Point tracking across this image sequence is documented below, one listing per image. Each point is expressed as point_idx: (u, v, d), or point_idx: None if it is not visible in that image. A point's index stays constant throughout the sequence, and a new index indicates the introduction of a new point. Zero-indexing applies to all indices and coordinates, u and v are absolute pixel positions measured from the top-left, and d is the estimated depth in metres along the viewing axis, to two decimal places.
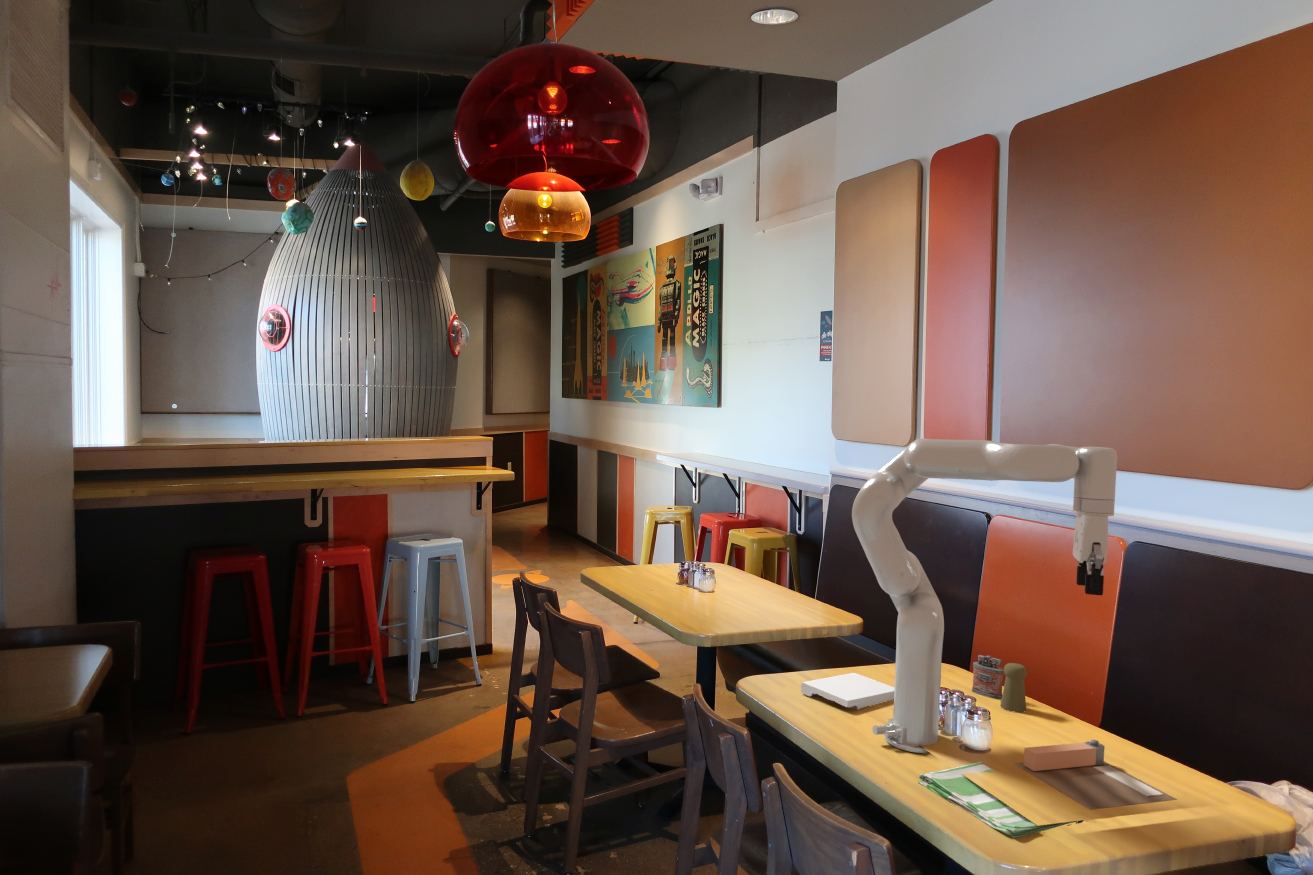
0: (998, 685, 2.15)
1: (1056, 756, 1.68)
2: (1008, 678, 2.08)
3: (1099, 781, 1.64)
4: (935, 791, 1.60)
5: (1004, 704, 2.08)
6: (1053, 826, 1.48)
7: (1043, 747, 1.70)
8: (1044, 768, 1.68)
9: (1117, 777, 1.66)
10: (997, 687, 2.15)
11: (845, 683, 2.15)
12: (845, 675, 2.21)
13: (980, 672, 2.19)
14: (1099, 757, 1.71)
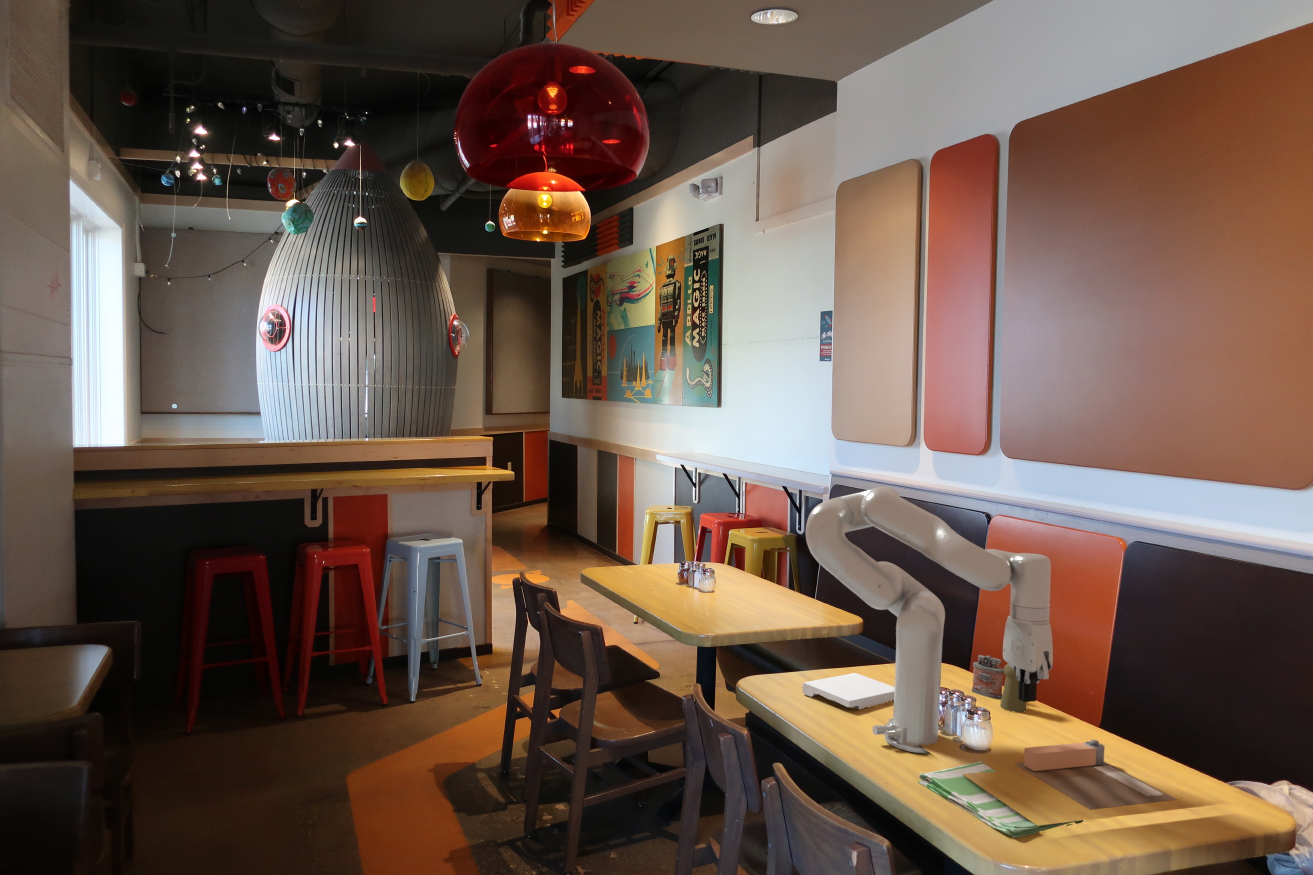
0: (998, 685, 2.15)
1: (1056, 756, 1.68)
2: (1008, 678, 2.08)
3: (1099, 781, 1.64)
4: (935, 791, 1.60)
5: (1004, 704, 2.08)
6: (1053, 826, 1.48)
7: (1043, 747, 1.70)
8: (1044, 768, 1.68)
9: (1117, 777, 1.66)
10: (997, 687, 2.15)
11: (847, 683, 2.15)
12: (846, 675, 2.21)
13: (980, 672, 2.19)
14: (1099, 757, 1.71)
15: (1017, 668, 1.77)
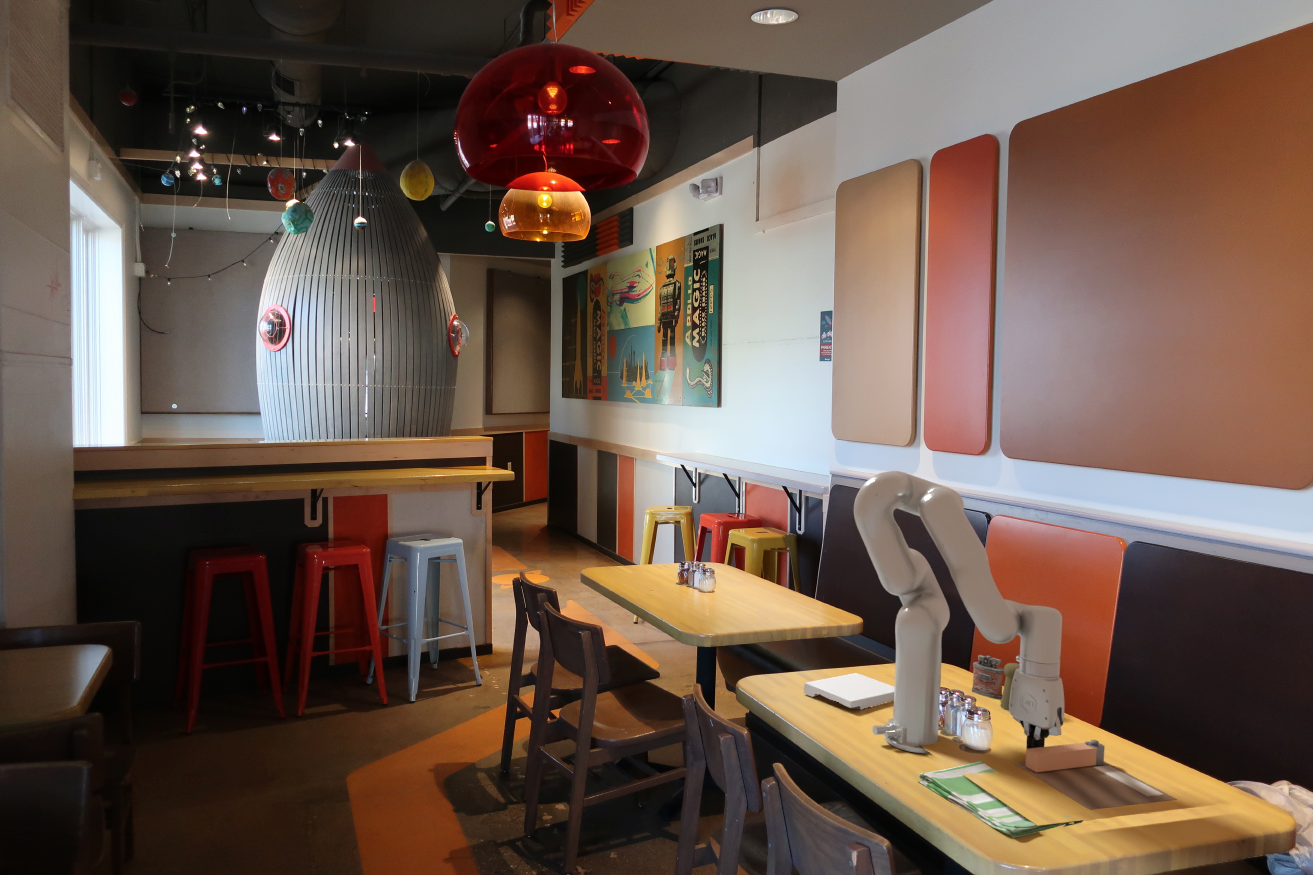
0: (998, 685, 2.15)
1: (1058, 756, 1.68)
2: (1008, 678, 2.08)
3: (1099, 781, 1.64)
4: (935, 790, 1.60)
5: (1004, 704, 2.08)
6: (1053, 826, 1.48)
7: (1044, 748, 1.70)
8: (1046, 769, 1.67)
9: (1117, 777, 1.66)
10: (997, 687, 2.15)
11: (848, 683, 2.15)
12: (847, 676, 2.21)
13: (980, 672, 2.19)
14: (1099, 757, 1.71)
15: (1025, 723, 1.73)
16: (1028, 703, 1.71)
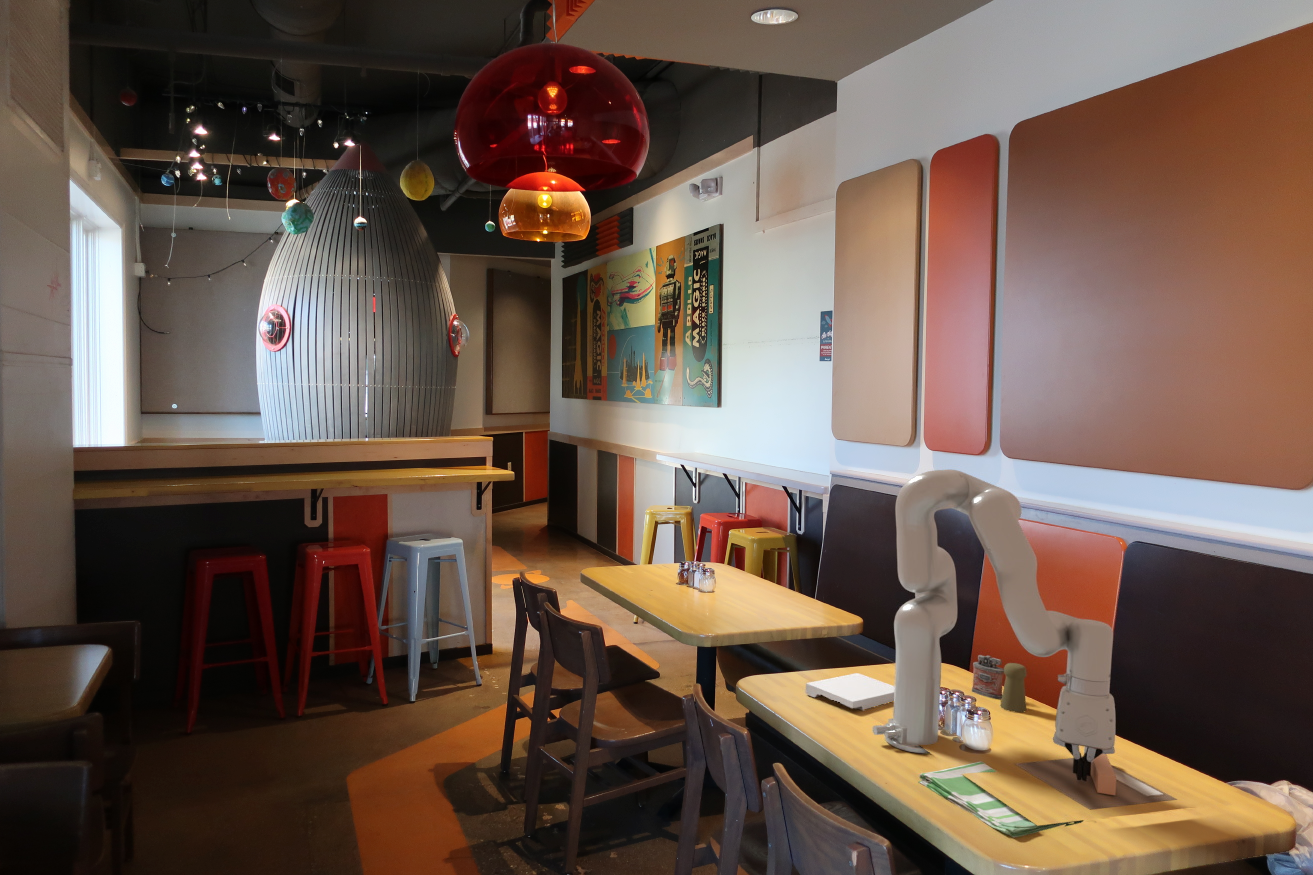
0: (998, 685, 2.15)
1: None
2: (1008, 678, 2.08)
3: None
4: (935, 791, 1.60)
5: (1004, 704, 2.08)
6: (1053, 826, 1.48)
7: (1098, 766, 1.62)
8: None
9: (1117, 777, 1.66)
10: (997, 687, 2.15)
11: (850, 683, 2.14)
12: (849, 676, 2.21)
13: (980, 672, 2.19)
14: None
15: (1075, 746, 1.62)
16: (1086, 725, 1.60)
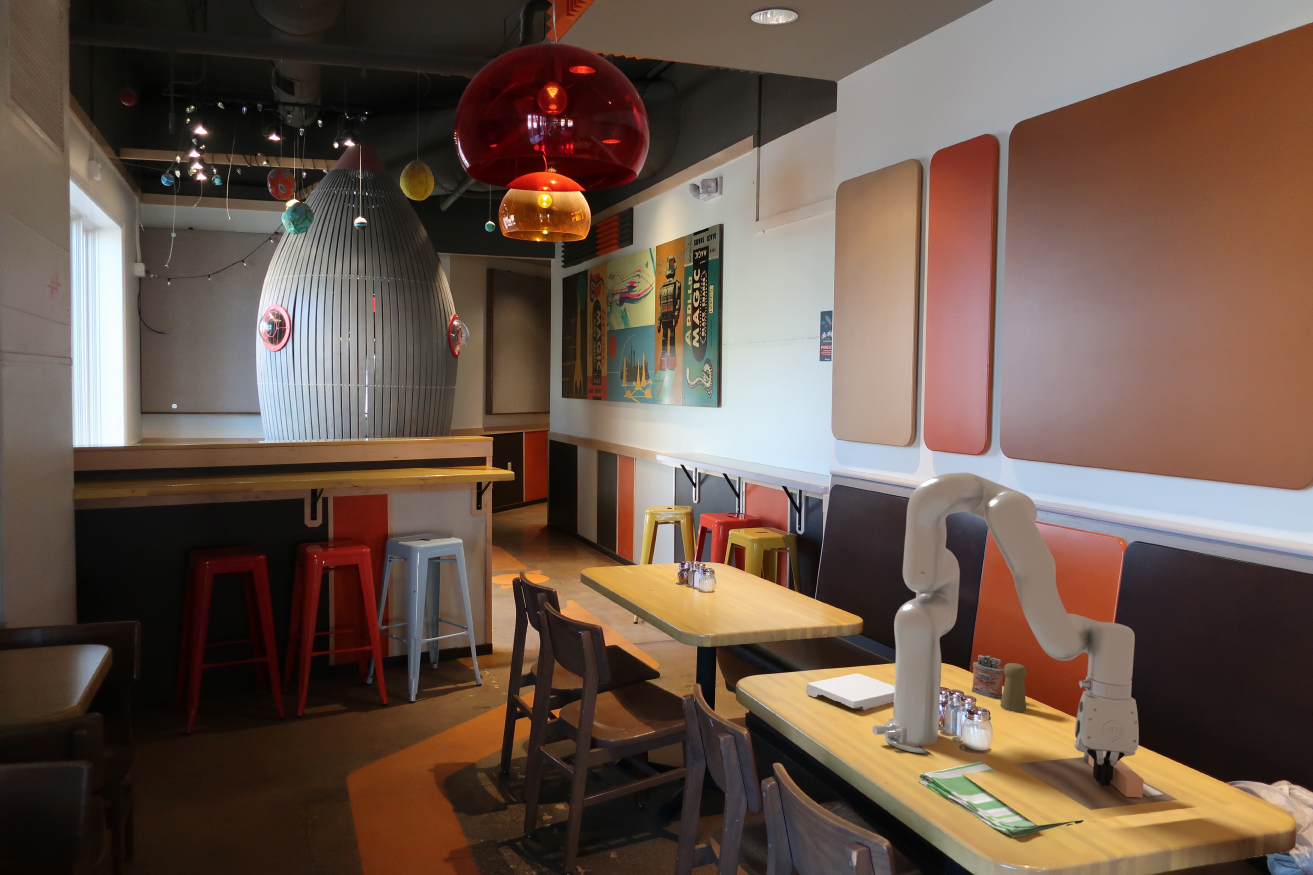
0: (998, 685, 2.15)
1: None
2: (1008, 678, 2.08)
3: None
4: (935, 790, 1.60)
5: (1004, 704, 2.08)
6: (1053, 826, 1.48)
7: (1119, 769, 1.61)
8: None
9: None
10: (997, 687, 2.15)
11: (850, 684, 2.14)
12: (849, 676, 2.21)
13: (980, 672, 2.19)
14: None
15: (1099, 752, 1.60)
16: (1112, 730, 1.58)
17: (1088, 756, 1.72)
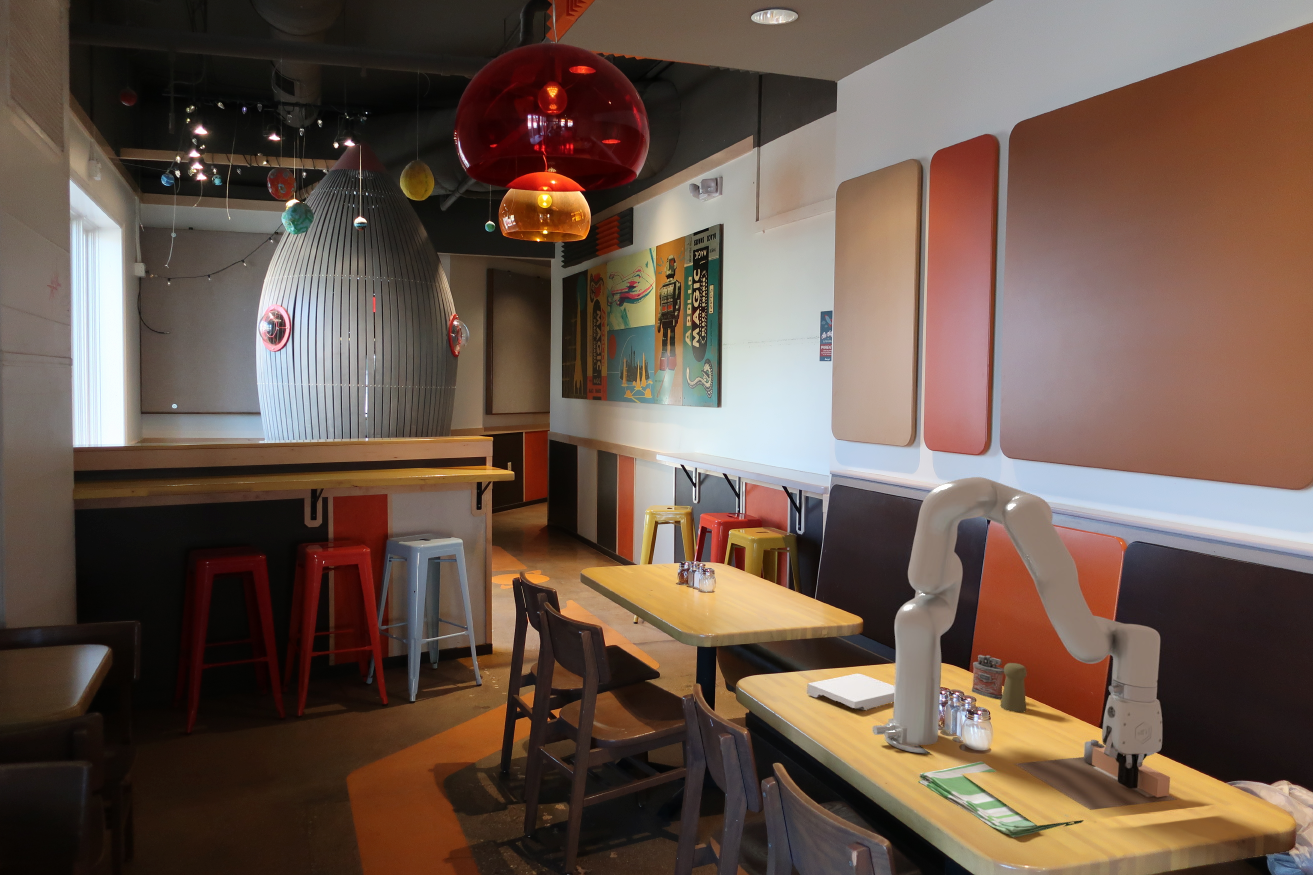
0: (998, 685, 2.15)
1: None
2: (1008, 678, 2.08)
3: (1099, 781, 1.64)
4: (935, 790, 1.60)
5: (1004, 704, 2.08)
6: (1053, 825, 1.48)
7: (1141, 769, 1.61)
8: None
9: (1117, 777, 1.66)
10: (997, 687, 2.15)
11: (851, 684, 2.14)
12: (850, 676, 2.21)
13: (980, 672, 2.19)
14: None
15: (1128, 755, 1.59)
16: (1142, 733, 1.58)
17: (1091, 757, 1.72)
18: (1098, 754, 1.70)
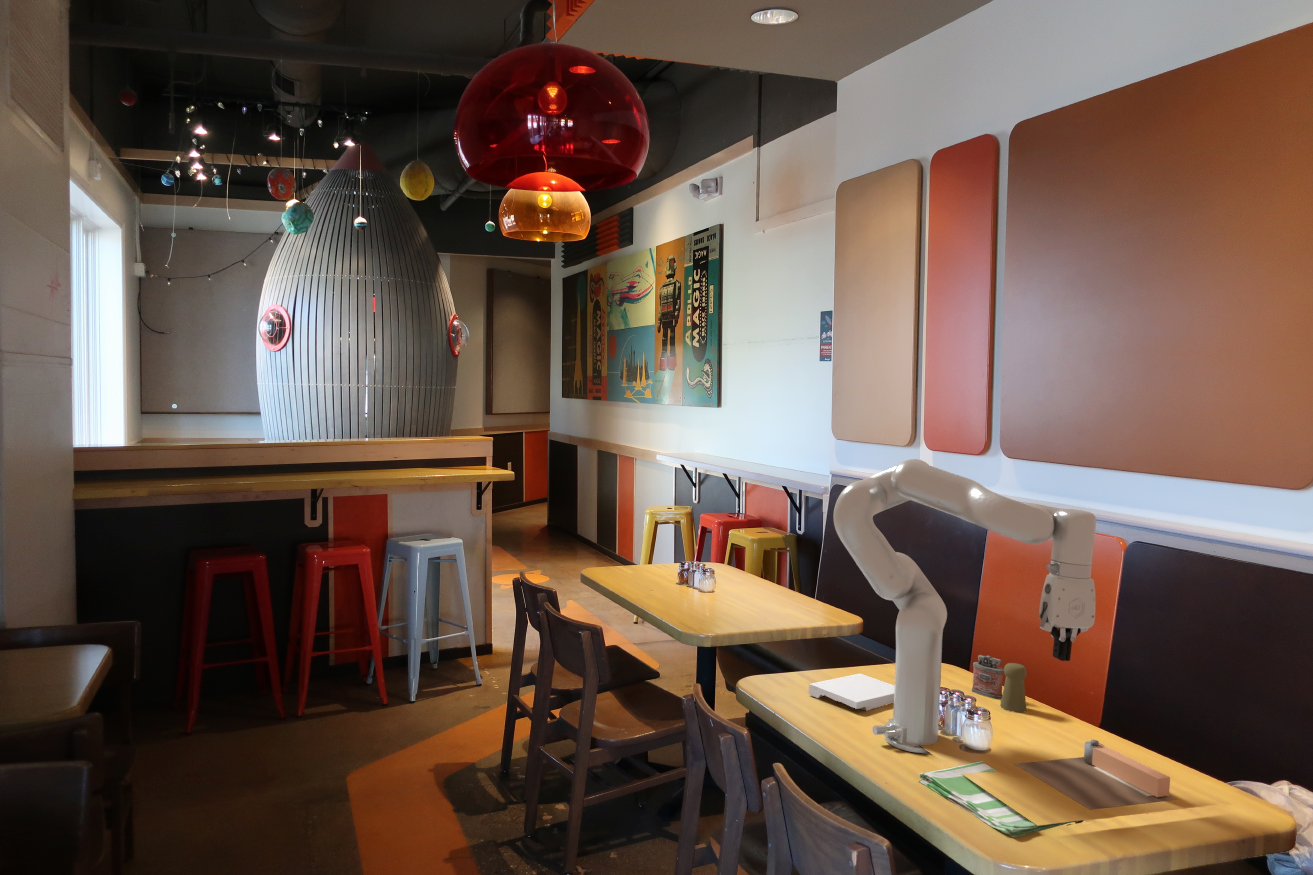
0: (998, 685, 2.15)
1: None
2: (1008, 678, 2.08)
3: (1099, 781, 1.64)
4: (935, 790, 1.60)
5: (1004, 704, 2.08)
6: (1053, 826, 1.48)
7: (1141, 769, 1.61)
8: None
9: (1117, 777, 1.66)
10: (997, 687, 2.15)
11: (853, 684, 2.14)
12: (851, 676, 2.21)
13: (980, 672, 2.19)
14: None
15: (1062, 630, 1.70)
16: (1076, 608, 1.69)
17: (1091, 757, 1.72)
18: (1098, 754, 1.70)
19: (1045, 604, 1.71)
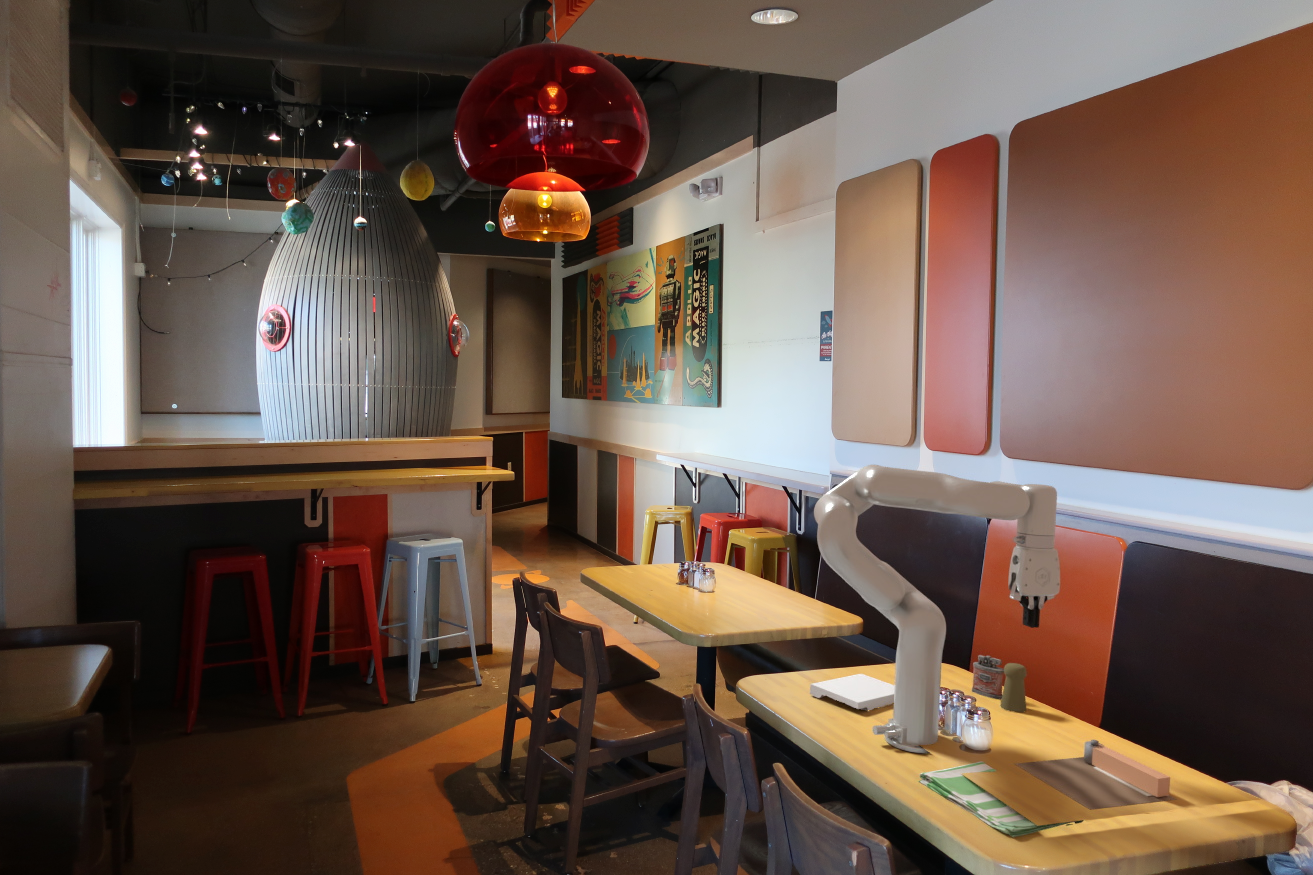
0: (998, 685, 2.15)
1: None
2: (1008, 678, 2.08)
3: (1099, 781, 1.64)
4: (935, 790, 1.60)
5: (1004, 704, 2.08)
6: (1052, 825, 1.48)
7: (1141, 769, 1.61)
8: None
9: (1117, 777, 1.66)
10: (997, 687, 2.15)
11: (854, 684, 2.14)
12: (853, 676, 2.21)
13: (980, 672, 2.19)
14: None
15: (1030, 598, 1.80)
16: (1042, 577, 1.79)
17: (1091, 757, 1.72)
18: (1098, 754, 1.70)
19: (1013, 575, 1.81)
